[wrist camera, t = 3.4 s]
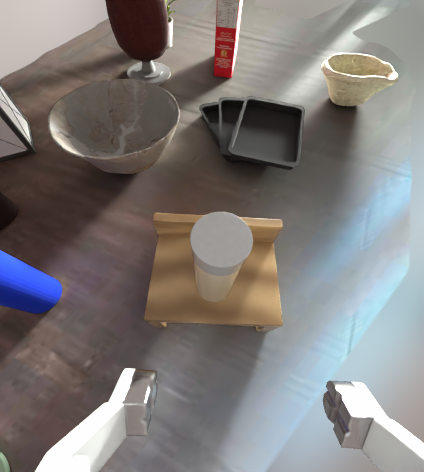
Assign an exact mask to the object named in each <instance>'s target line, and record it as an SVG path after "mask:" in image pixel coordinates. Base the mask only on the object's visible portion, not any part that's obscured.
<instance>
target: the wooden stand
mask: <svg viewBox="0 0 424 472" xmlns="http://www.w3.org/2000/svg"><path fill="white" fill-rule="evenodd" d="M202 217H203V215H185V214H166V213H154V217H153V223H154V225H155V228H156V231H157V234H158V241H157V247H156V252H155V258H154V264H153V269H152V275H151V280H150V286H149V292H148V297H147V303H146V308H145V314H144V320H145V321H147V322H148V323H150V324H151V325H153V326H154V327H166V325H167V323H189V324H211V325H233V326H256V331H258V332H268V331H271V330H273V329H276V328H279V327H281V326H283V322H282V313H281V304H280V296H279V287H278V278H277V269H276V260H275V251H274V241H275V239H276V238H277V236H278V234H279V233H280V231H281V230H282V228H283V225H282V220H277V219H259V218H241V219H242V220H243V221H244V222H245V223H246V224H247V225H248V227H249V228H250V230H251V233H252V237H253V246H252V249H251V251H250V254H249V256H248V258H247V260H246V262H245V264H244V265H243V266H242V268H241V270H240V272H239V275H238V277H237V279H236V281H235V283H234V286H233V288H232V290H231V292H230V294H229V295H228V297H226V298H225V299H224V300H222V301H219V302H209V301H206V300H204V299H203V298H202V297H201V296H200V295H199V294H198V292H197V290H196V286H195V275H194V264H193V257H192V253H191V244H190V234H191V230H192V228H193V226H194V225H195V223H196V222H197V221H198V220H199V219H200V218H202ZM239 218H240V217H239Z"/></svg>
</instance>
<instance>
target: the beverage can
mask: <svg viewBox="0 0 424 472" xmlns="http://www.w3.org/2000/svg"><path fill="white" fill-rule="evenodd" d="M61 293H62V287H61V284H60V282H59V281H57V280H56V279H54V278H52V277H50V276H48V275H46V274H44V273H43V272H41V271H39V270H37V269H35V268H33V267H31V266H29V265H27V264H25V263H24V262H22V261H20V260H18V259H16V258H14V257H12V256H10V255H8V254H7V253H5V252H3V251H1V250H0V305H2V306H6V307H10V308H14V309H18V310H21V311H25V312H29V313H34V314H38V313H43V312H45V311H48V310H49V309H51V308H52V307H53V306H54V305H55V304H56V303H57V302H58V301H59V299H60V297H61Z"/></svg>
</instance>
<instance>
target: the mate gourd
mask: <svg viewBox="0 0 424 472" xmlns="http://www.w3.org/2000/svg"><path fill="white" fill-rule="evenodd" d="M106 6H107V12H108V16H109V20H110V24H111V27H112V30H113V33H114V35H115V38H116V40H117V42H118V44H119V46H120V47H121V49H122V50H123V51H124V52H125V53H126V54H127V55H128V56H129V57H131V58H133V59H135V60H140V61H142V63H138V64H135V65H133V66H132V67H130V68H129V70H128V72H127V75H128V78H129V79H137V80H142V81H147V82H149V83H152V84H155V85H160V84H163V83H165V82H166V81H168V80H169V78H170V76H171V71H170V69H169V68H168V67H167V66H166V65H164V64H161V63H157V62H152V60H154V59H157V58H159V57H161V56H162V55H163V53H164V51H165V49H166V47H167V45H168V35H169V23H168V13H167V7H166V2H165V0H106Z"/></svg>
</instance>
